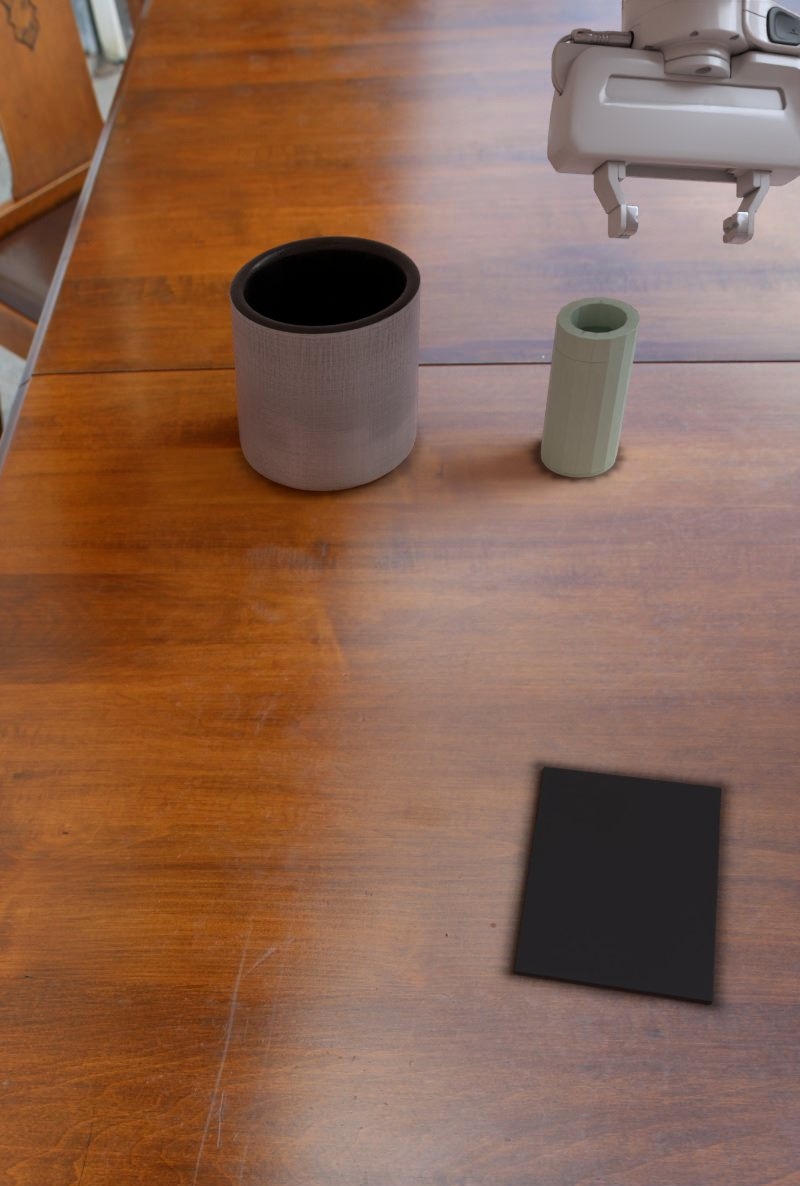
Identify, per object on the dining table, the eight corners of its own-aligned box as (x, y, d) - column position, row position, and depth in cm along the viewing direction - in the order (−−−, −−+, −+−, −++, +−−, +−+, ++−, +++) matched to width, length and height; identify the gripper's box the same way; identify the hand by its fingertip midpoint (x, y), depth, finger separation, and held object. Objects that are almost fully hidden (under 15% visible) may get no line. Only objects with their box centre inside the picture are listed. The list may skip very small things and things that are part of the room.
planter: (309, 523, 115) (302, 356, 103) (207, 442, 124) (190, 279, 111) (453, 450, 119) (463, 282, 107) (345, 377, 128) (343, 213, 116)
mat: (543, 771, 95) (544, 766, 94) (719, 792, 92) (721, 787, 92) (512, 976, 85) (513, 970, 84) (710, 1007, 82) (712, 1001, 81)
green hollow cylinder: (630, 456, 116) (656, 314, 106) (583, 489, 114) (605, 348, 104) (572, 428, 119) (592, 288, 109) (525, 460, 117) (540, 320, 107)
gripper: (573, 2, 91) (572, 215, 93) (835, 26, 95) (829, 229, 97) (532, 48, 97) (531, 247, 99) (780, 69, 101) (775, 259, 103)
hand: (681, 239), depth 98 cm, fingers open, 8 cm apart
